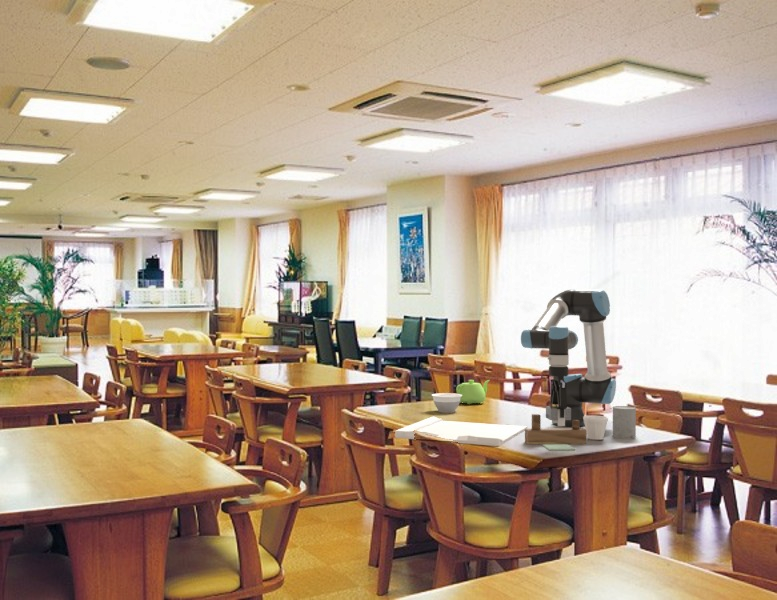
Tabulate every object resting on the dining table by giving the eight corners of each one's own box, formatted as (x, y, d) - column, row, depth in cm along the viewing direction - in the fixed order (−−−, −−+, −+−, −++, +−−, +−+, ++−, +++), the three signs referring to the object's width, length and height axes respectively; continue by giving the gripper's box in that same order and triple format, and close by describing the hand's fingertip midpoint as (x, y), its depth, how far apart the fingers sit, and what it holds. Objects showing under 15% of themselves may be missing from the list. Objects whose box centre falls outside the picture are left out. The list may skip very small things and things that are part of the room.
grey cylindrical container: (637, 438, 332) (637, 409, 332) (613, 438, 334) (613, 408, 334) (634, 435, 342) (634, 406, 341) (611, 434, 343) (611, 405, 343)
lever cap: (545, 417, 315) (545, 403, 315) (565, 417, 315) (565, 403, 315) (550, 420, 308) (550, 405, 308) (571, 420, 308) (571, 405, 308)
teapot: (483, 400, 455) (483, 377, 455) (497, 403, 442) (497, 380, 442) (449, 402, 446) (449, 379, 446) (462, 406, 433) (462, 381, 433)
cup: (607, 442, 325) (607, 419, 325) (582, 440, 328) (582, 418, 328) (608, 437, 334) (608, 415, 334) (584, 436, 337) (584, 414, 337)
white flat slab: (527, 430, 357) (527, 422, 357) (499, 447, 315) (499, 438, 315) (433, 423, 375) (433, 416, 375) (395, 439, 334) (395, 430, 334)
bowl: (468, 411, 411) (468, 395, 411) (446, 414, 401) (446, 397, 401) (447, 408, 423) (447, 392, 423) (425, 411, 413) (425, 394, 413)
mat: (542, 445, 316) (542, 444, 316) (567, 445, 317) (567, 443, 317) (549, 450, 306) (549, 449, 306) (574, 450, 307) (574, 448, 307)
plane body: (524, 442, 324) (524, 413, 324) (582, 441, 326) (582, 413, 326) (527, 444, 319) (527, 415, 319) (586, 443, 321) (586, 415, 321)
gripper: (542, 363, 321) (542, 420, 321) (556, 367, 301) (556, 428, 301) (560, 363, 322) (560, 420, 322) (575, 367, 302) (575, 428, 302)
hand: (558, 424), depth 311 cm, fingers closed on lever cap, 7 cm apart
